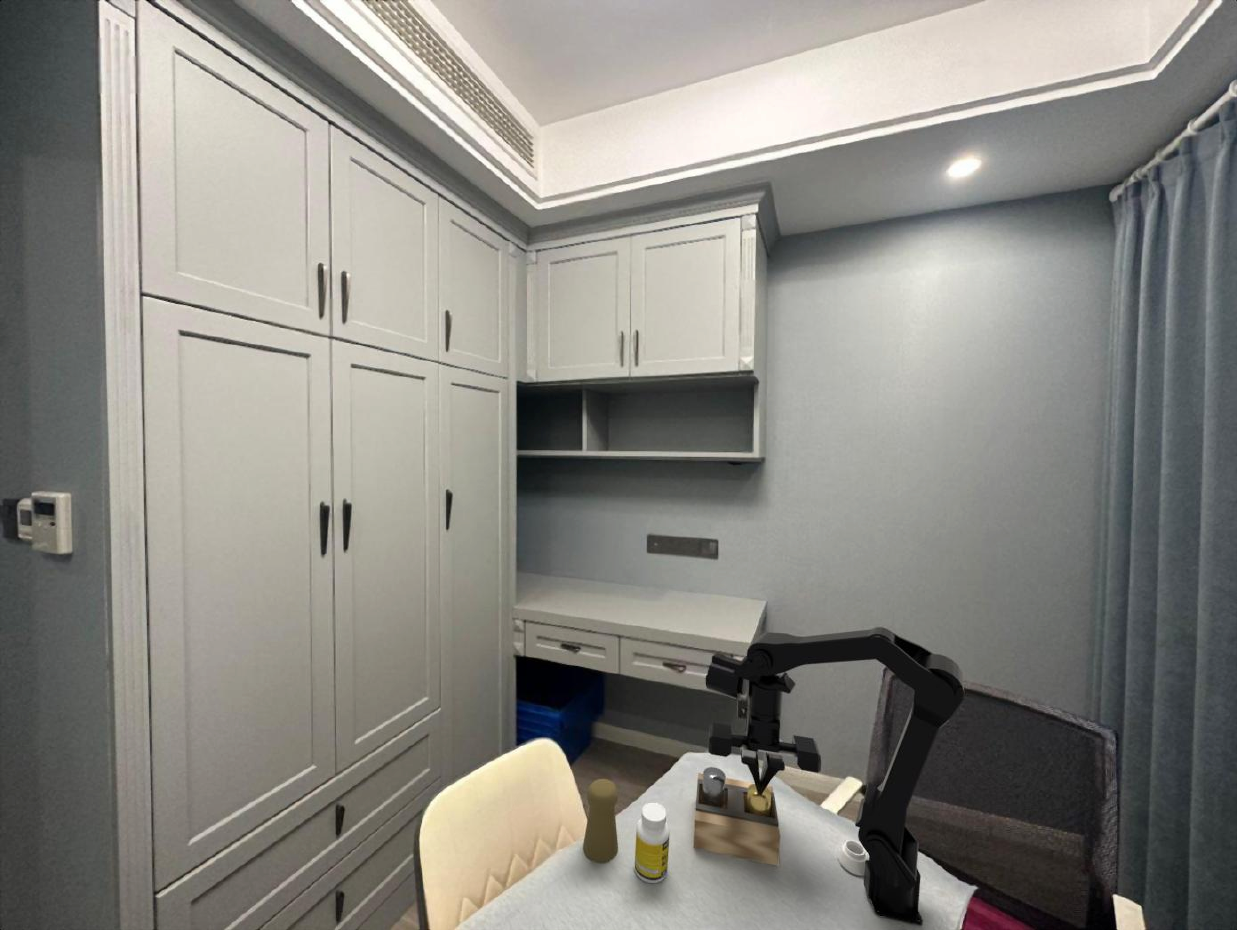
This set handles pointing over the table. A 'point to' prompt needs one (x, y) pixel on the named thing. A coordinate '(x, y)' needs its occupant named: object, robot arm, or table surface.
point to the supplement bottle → (652, 844)
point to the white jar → (853, 857)
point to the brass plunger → (758, 801)
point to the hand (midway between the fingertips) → (759, 792)
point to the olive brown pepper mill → (601, 822)
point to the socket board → (736, 825)
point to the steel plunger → (713, 787)
